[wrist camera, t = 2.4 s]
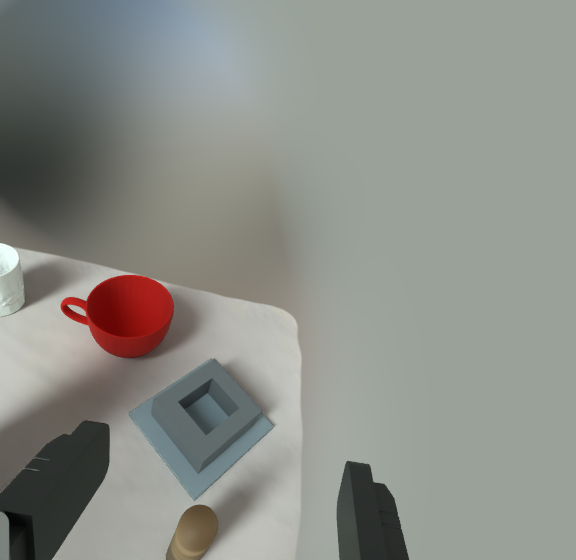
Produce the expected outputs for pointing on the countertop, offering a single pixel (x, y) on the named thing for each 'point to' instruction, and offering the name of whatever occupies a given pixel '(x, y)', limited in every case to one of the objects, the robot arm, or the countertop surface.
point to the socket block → (201, 425)
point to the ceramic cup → (125, 314)
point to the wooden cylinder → (193, 534)
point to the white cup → (10, 281)
